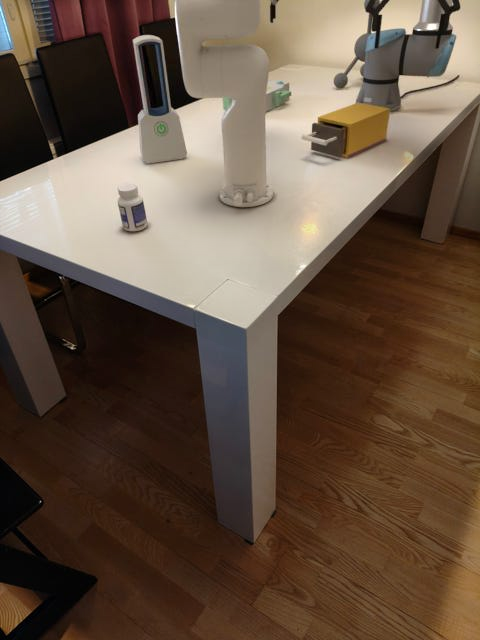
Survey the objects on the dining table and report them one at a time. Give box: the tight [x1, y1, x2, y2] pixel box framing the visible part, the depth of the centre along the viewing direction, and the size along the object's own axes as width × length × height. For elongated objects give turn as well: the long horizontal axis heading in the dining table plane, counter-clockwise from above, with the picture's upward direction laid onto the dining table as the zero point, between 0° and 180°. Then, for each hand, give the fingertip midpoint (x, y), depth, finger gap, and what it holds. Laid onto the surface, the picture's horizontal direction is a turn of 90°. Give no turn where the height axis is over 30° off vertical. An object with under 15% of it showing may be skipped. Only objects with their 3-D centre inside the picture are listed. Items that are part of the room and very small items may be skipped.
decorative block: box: [222, 79, 292, 113], centre depth 175 cm, size 26×6×20 cm
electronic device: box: [132, 34, 188, 165], centre depth 130 cm, size 12×8×30 cm, turn 105°
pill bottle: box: [117, 182, 148, 232], centre depth 102 cm, size 5×5×9 cm
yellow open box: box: [317, 102, 390, 159], centre depth 137 cm, size 18×11×9 cm, turn 134°
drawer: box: [301, 122, 348, 158], centre depth 134 cm, size 22×10×7 cm, turn 134°
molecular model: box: [333, 0, 381, 89], centre depth 184 cm, size 24×22×30 cm
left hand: (253, 23), depth 131 cm, fingers open, 9 cm apart
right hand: (406, 47), depth 114 cm, fingers open, 13 cm apart
